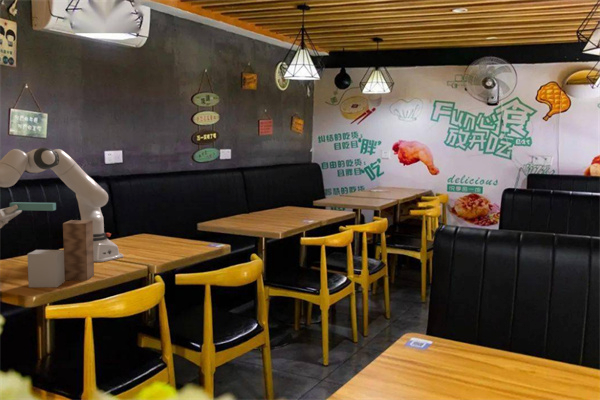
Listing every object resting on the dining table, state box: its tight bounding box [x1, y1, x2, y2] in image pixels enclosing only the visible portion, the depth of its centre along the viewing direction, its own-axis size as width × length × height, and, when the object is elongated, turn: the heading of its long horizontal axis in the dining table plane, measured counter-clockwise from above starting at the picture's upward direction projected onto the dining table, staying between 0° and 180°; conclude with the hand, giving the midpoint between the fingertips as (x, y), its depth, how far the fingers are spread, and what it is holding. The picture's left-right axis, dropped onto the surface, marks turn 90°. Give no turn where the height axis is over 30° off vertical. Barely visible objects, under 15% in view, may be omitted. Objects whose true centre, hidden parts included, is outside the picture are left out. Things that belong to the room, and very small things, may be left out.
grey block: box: [26, 249, 66, 288], centre depth 243 cm, size 12×9×14 cm
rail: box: [9, 201, 57, 212], centre depth 241 cm, size 18×4×3 cm, turn 93°
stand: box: [62, 219, 95, 282], centre depth 255 cm, size 10×10×26 cm
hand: (20, 205), depth 241 cm, fingers closed on rail, 3 cm apart
